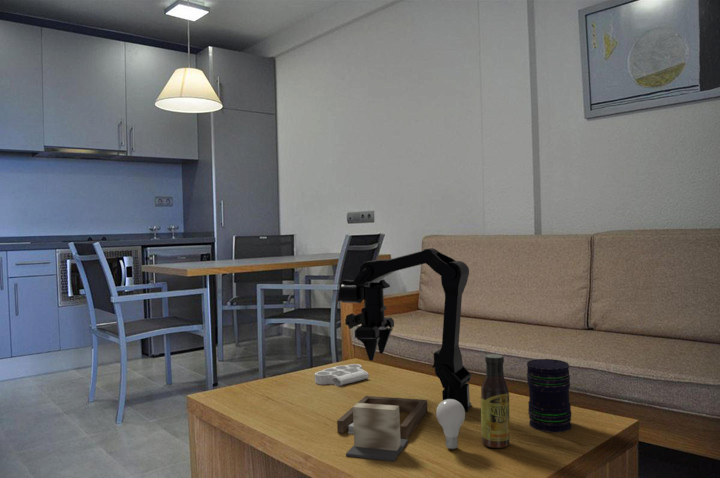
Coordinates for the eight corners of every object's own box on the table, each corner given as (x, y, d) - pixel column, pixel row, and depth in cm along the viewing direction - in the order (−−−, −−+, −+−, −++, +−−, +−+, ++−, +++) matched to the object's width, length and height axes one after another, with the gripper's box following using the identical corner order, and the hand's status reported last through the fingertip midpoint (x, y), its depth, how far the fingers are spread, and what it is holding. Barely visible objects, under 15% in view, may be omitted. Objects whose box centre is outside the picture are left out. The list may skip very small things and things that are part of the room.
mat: (408, 441, 128) (407, 439, 128) (394, 461, 118) (394, 458, 118) (363, 437, 132) (363, 435, 132) (346, 456, 122) (345, 453, 122)
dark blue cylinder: (553, 435, 128) (550, 371, 128) (520, 424, 136) (517, 363, 136) (580, 426, 133) (578, 364, 133) (547, 415, 142) (544, 357, 141)
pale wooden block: (400, 445, 125) (399, 405, 124) (397, 450, 122) (395, 410, 122) (359, 441, 128) (357, 402, 128) (354, 446, 125) (352, 406, 125)
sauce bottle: (493, 452, 120) (489, 360, 120) (475, 442, 126) (472, 355, 126) (517, 446, 123) (513, 356, 123) (499, 436, 129) (495, 351, 128)
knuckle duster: (332, 390, 174) (307, 381, 185) (376, 378, 185) (350, 371, 196) (331, 379, 174) (306, 371, 185) (376, 368, 185) (349, 361, 196)
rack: (427, 411, 149) (426, 399, 149) (406, 439, 130) (406, 426, 130) (366, 406, 155) (365, 395, 155) (337, 432, 136) (337, 420, 136)
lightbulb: (471, 452, 121) (469, 401, 121) (445, 456, 119) (443, 405, 119) (458, 441, 127) (456, 393, 127) (433, 445, 125) (430, 397, 125)
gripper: (359, 299, 174) (361, 348, 174) (336, 308, 156) (338, 363, 157) (393, 299, 170) (395, 350, 170) (373, 308, 152) (376, 365, 153)
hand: (376, 356), depth 162 cm, fingers open, 9 cm apart
